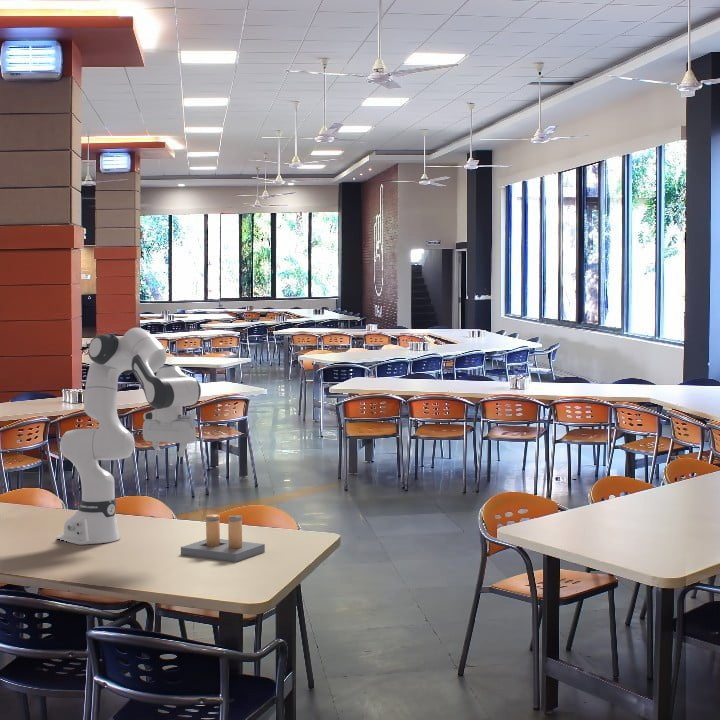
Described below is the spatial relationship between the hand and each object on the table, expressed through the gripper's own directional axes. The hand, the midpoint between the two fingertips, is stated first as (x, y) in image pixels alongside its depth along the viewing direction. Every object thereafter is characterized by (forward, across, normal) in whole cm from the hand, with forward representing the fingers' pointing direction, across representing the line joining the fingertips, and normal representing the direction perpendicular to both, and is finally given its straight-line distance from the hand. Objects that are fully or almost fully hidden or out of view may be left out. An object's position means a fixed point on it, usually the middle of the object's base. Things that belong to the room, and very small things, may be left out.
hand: (169, 455), depth 332 cm
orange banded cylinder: (+31, -16, -2) cm, 35 cm away
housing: (+31, -20, -2) cm, 37 cm away
